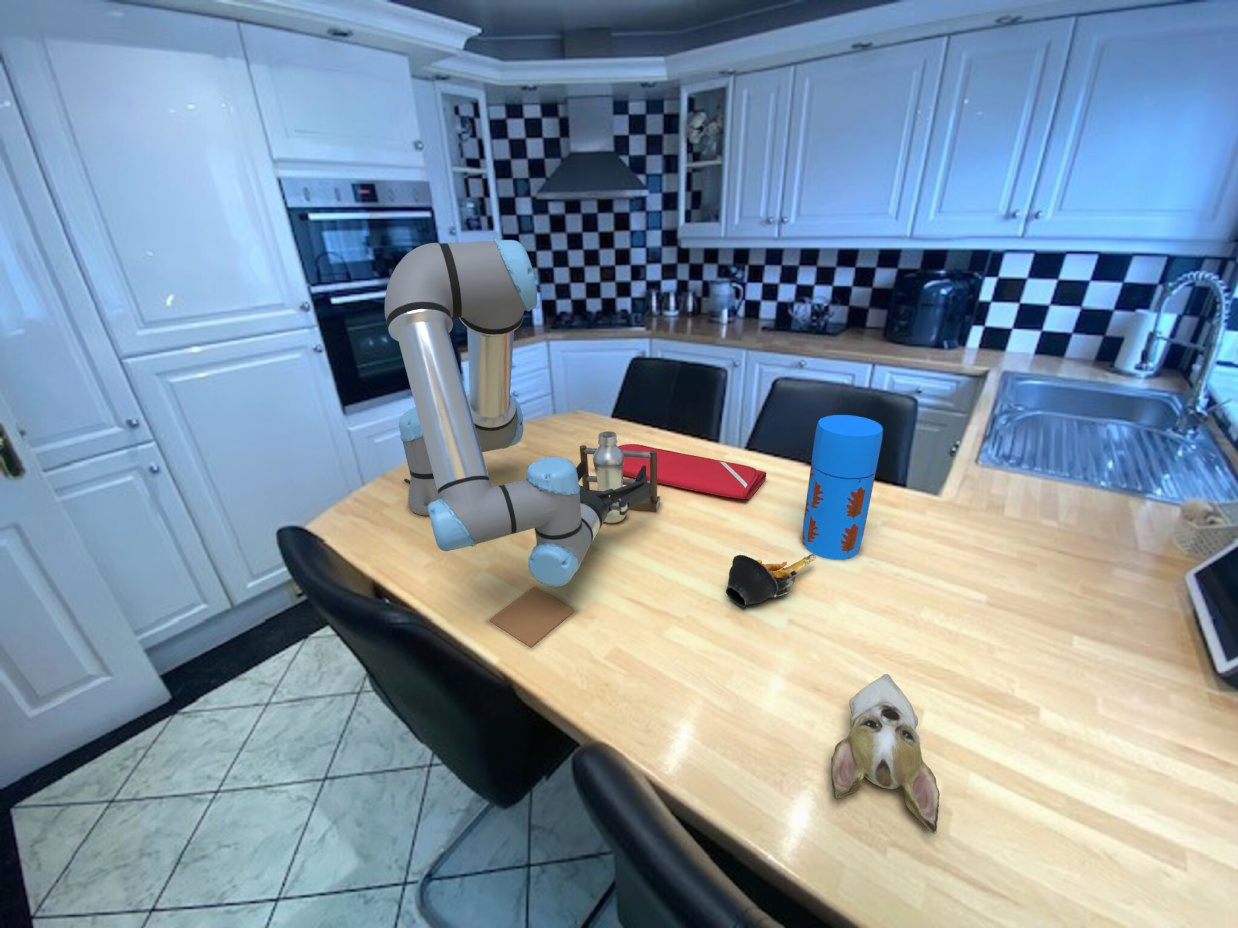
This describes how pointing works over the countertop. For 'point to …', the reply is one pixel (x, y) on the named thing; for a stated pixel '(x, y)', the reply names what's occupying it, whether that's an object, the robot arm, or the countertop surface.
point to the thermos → (840, 485)
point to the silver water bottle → (609, 468)
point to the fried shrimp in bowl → (760, 579)
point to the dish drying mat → (696, 472)
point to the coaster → (532, 616)
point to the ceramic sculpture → (885, 750)
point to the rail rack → (646, 505)
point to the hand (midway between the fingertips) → (613, 468)
